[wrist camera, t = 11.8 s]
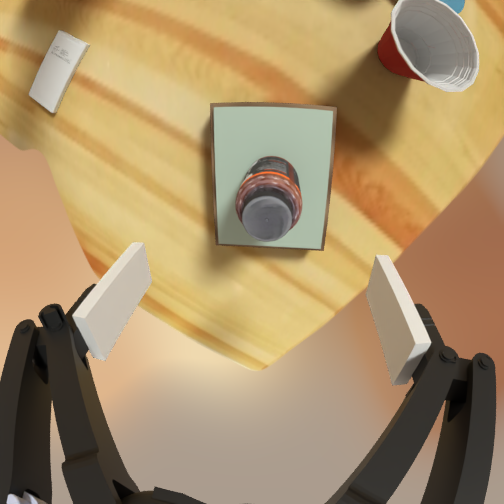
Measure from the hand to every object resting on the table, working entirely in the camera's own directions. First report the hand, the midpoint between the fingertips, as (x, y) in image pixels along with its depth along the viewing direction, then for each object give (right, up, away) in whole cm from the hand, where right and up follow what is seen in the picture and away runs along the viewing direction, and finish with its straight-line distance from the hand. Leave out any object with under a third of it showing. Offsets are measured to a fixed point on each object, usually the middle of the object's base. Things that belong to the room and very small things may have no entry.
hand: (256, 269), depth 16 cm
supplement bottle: (+2, +9, +17) cm, 19 cm away
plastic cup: (+18, +26, +11) cm, 34 cm away
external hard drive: (-31, +30, +15) cm, 46 cm away
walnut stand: (+2, +12, +21) cm, 24 cm away
